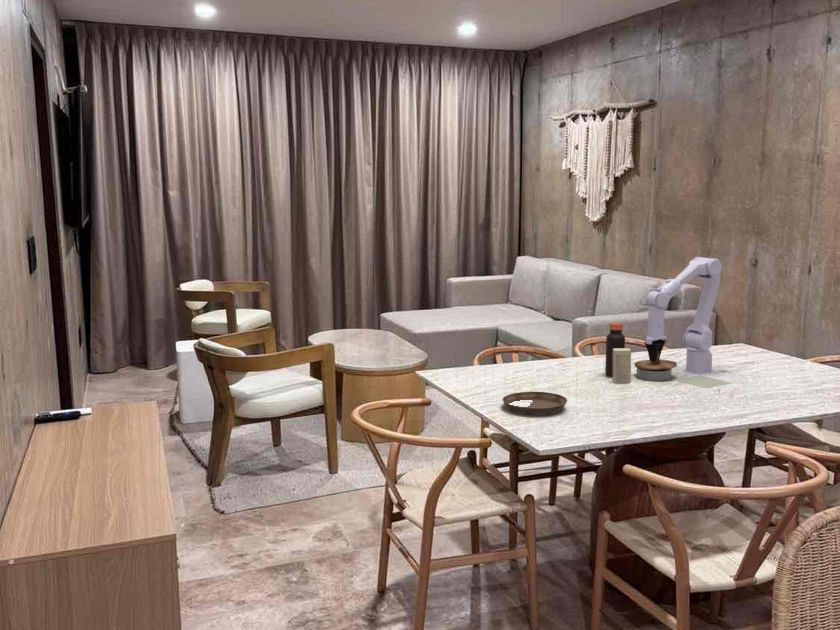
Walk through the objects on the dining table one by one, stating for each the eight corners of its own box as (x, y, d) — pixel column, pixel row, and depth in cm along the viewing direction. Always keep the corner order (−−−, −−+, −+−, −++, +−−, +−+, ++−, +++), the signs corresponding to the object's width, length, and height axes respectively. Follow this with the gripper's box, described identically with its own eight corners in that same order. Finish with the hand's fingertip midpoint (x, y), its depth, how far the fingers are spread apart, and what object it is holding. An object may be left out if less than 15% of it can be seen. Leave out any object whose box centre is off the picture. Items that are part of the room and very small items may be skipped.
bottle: (627, 376, 293) (629, 324, 290) (612, 378, 291) (614, 325, 288) (616, 372, 300) (618, 321, 296) (601, 374, 297) (603, 322, 294)
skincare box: (629, 380, 288) (630, 348, 286) (630, 383, 284) (632, 350, 282) (611, 380, 288) (612, 347, 286) (612, 383, 284) (614, 350, 282)
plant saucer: (489, 410, 251) (489, 400, 251) (524, 397, 267) (525, 387, 266) (545, 421, 238) (545, 411, 238) (578, 407, 254) (579, 397, 253)
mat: (699, 376, 293) (699, 375, 293) (732, 384, 281) (732, 382, 281) (674, 381, 285) (674, 380, 285) (707, 389, 274) (707, 388, 273)
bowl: (652, 373, 299) (652, 362, 298) (677, 379, 289) (678, 368, 288) (630, 377, 293) (630, 366, 292) (655, 383, 283) (655, 372, 282)
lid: (664, 360, 298) (664, 346, 298) (684, 367, 284) (684, 352, 283) (627, 363, 296) (627, 350, 295) (646, 370, 281) (645, 356, 281)
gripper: (659, 327, 280) (658, 365, 282) (673, 322, 291) (671, 357, 293) (640, 326, 284) (639, 362, 286) (654, 320, 295) (653, 355, 297)
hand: (654, 360), depth 290 cm, fingers closed on lid, 3 cm apart
